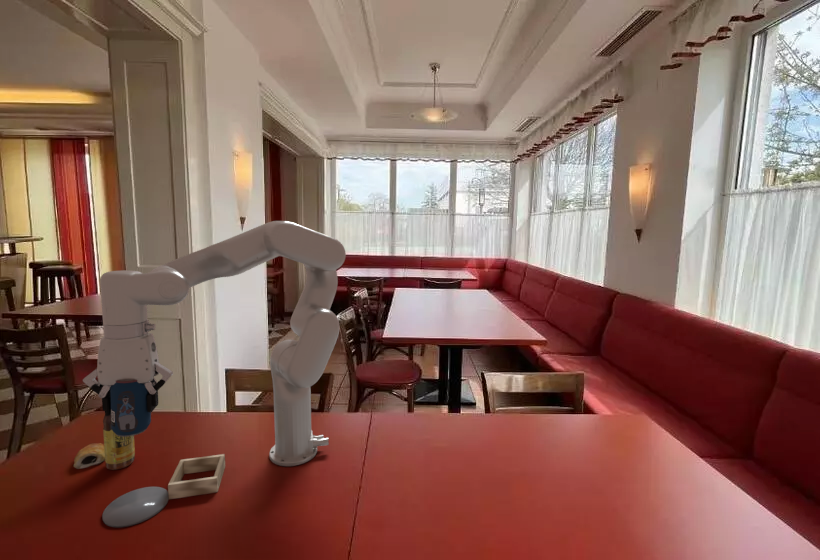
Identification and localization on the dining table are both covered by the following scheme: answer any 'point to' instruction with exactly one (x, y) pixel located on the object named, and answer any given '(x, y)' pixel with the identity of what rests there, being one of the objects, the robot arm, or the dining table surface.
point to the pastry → (89, 456)
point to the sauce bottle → (117, 447)
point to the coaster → (135, 507)
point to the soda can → (129, 408)
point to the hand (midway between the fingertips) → (131, 410)
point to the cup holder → (197, 485)
